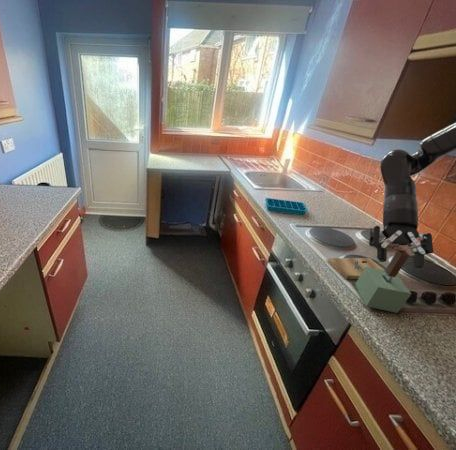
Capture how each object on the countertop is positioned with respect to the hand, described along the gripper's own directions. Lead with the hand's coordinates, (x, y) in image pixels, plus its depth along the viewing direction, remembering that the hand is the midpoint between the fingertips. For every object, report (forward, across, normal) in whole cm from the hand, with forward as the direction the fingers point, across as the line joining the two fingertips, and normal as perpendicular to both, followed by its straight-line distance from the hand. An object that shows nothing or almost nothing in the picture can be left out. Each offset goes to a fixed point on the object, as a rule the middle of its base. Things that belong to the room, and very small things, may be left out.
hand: (399, 264), depth 71 cm
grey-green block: (+9, 0, -11) cm, 15 cm away
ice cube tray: (-34, +20, -55) cm, 68 cm away
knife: (+9, 0, -11) cm, 14 cm away
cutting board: (-1, 0, -22) cm, 22 cm away
